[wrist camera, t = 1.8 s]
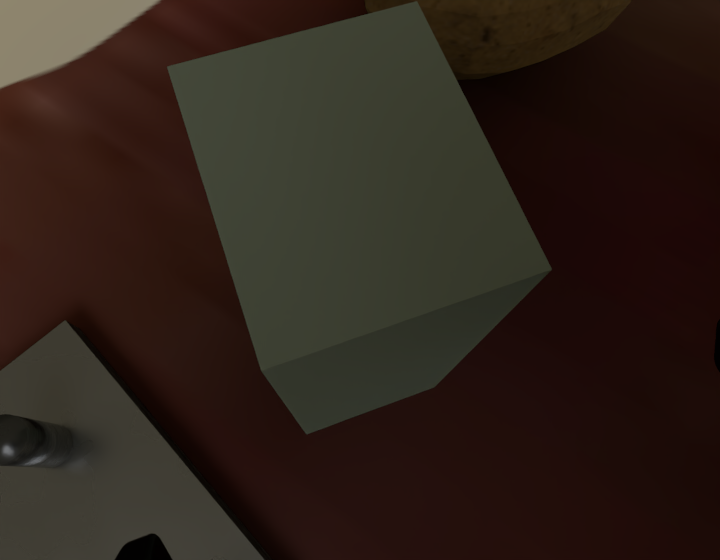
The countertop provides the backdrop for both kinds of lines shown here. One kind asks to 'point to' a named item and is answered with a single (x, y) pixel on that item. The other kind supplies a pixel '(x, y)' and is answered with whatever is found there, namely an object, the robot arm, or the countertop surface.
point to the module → (355, 209)
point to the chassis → (97, 466)
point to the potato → (508, 30)
